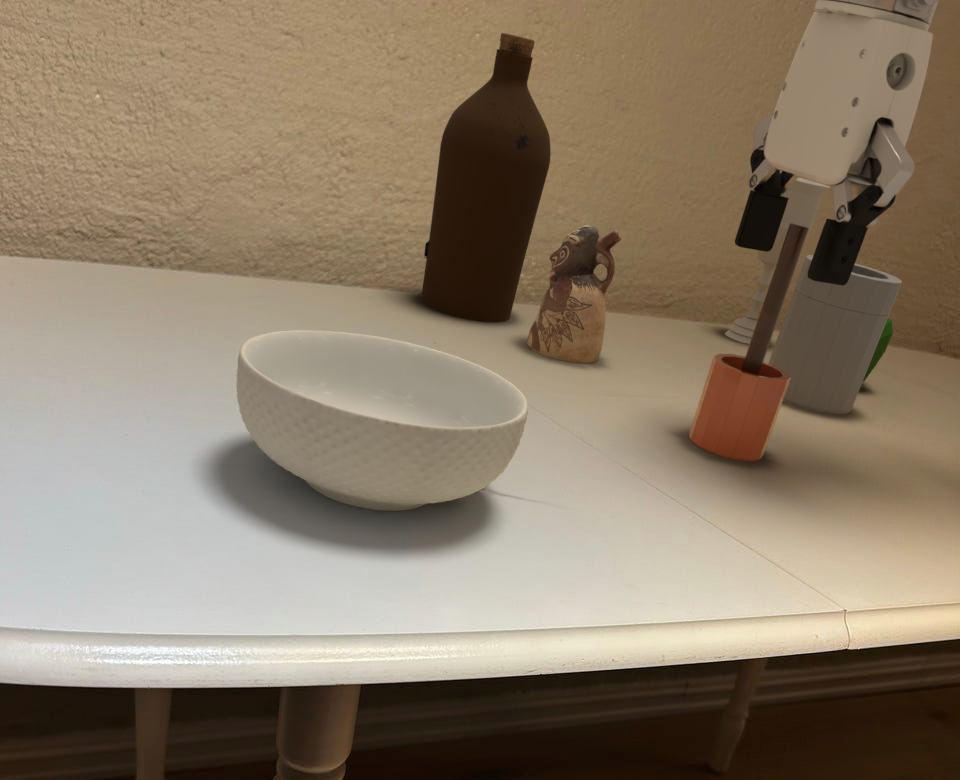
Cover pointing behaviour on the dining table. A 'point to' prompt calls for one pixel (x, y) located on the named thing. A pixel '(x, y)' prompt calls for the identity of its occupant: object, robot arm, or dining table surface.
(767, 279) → the chalice
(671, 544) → the dining table surface
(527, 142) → the olive oil
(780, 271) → the brush
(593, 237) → the figurine
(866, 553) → the dining table surface
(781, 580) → the dining table surface
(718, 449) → the holder
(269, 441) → the cereal bowl
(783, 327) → the gray cylindrical pot
